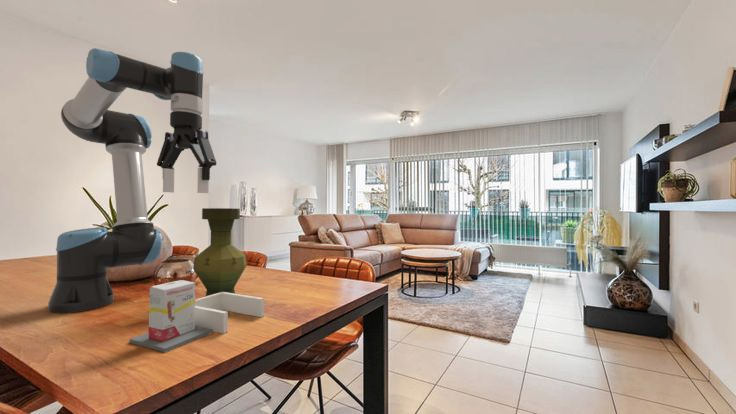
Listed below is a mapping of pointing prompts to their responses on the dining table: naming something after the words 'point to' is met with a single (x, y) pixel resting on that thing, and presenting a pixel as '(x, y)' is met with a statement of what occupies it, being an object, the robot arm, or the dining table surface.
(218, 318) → the frame
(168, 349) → the stand pad
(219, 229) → the vase
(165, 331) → the ink box
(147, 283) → the dining table surface
